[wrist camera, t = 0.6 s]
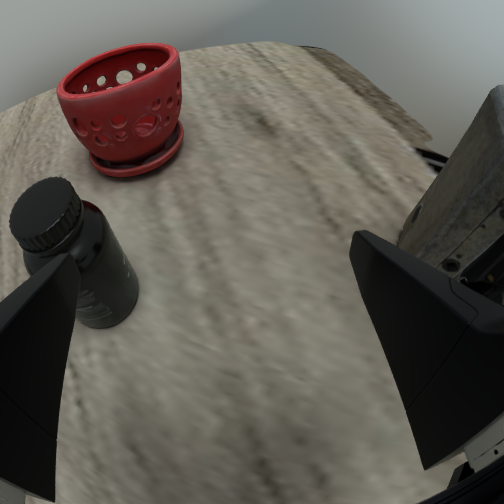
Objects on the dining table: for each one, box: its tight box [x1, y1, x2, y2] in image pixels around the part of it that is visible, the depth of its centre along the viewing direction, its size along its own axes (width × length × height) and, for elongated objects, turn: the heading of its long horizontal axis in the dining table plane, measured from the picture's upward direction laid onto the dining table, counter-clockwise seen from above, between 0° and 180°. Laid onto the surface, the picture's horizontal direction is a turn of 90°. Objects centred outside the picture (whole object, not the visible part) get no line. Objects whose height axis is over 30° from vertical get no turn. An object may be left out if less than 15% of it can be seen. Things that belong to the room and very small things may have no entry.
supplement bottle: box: [9, 177, 138, 328], centre depth 20 cm, size 7×7×12 cm
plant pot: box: [57, 43, 184, 177], centre depth 30 cm, size 13×13×12 cm
